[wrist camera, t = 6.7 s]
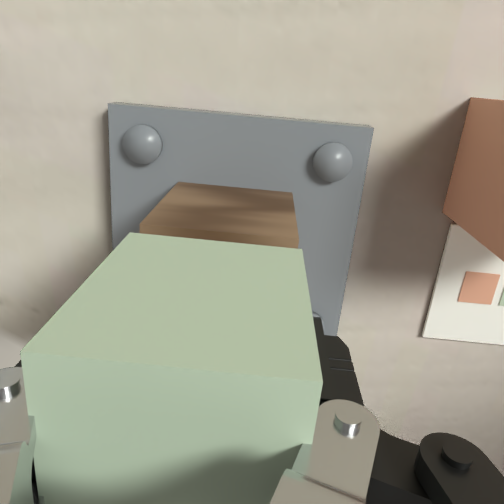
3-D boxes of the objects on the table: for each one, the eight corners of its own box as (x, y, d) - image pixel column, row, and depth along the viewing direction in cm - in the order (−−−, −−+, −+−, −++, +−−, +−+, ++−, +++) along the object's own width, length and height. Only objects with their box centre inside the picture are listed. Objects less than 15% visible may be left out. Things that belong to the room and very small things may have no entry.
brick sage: (302, 249, 13) (323, 382, 7) (282, 389, 15) (287, 581, 9) (129, 232, 13) (20, 351, 7) (132, 374, 15) (46, 555, 9)
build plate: (369, 125, 19) (375, 129, 18) (330, 342, 23) (334, 358, 22) (115, 101, 19) (104, 103, 18) (121, 322, 23) (112, 336, 22)
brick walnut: (292, 192, 19) (299, 239, 14) (279, 294, 21) (281, 372, 16) (178, 181, 20) (139, 223, 14) (175, 284, 21) (140, 358, 16)
